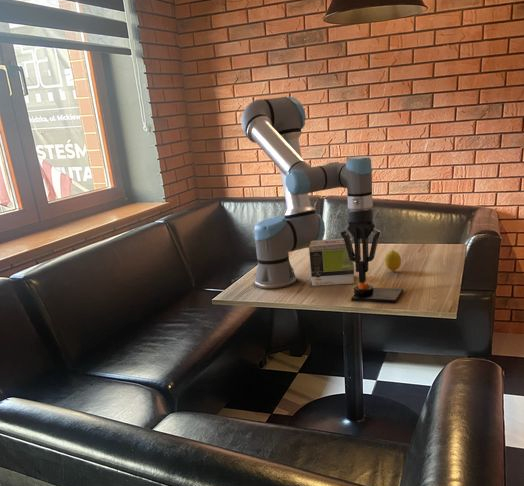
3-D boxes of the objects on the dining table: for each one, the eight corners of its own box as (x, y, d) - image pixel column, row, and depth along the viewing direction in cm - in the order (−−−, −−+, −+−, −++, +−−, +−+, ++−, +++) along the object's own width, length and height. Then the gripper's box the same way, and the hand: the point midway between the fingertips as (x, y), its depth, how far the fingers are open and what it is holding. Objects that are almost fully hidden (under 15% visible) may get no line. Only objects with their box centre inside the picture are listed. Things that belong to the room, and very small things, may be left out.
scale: (349, 301, 172) (349, 292, 171) (359, 290, 181) (359, 281, 180) (395, 303, 165) (395, 294, 164) (402, 292, 175) (402, 283, 174)
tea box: (354, 276, 197) (352, 236, 192) (354, 284, 187) (352, 243, 182) (313, 278, 200) (310, 239, 194) (311, 286, 190) (308, 245, 185)
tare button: (357, 289, 174) (357, 284, 173) (360, 286, 176) (359, 281, 176) (366, 290, 172) (366, 284, 172) (369, 287, 175) (369, 281, 174)
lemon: (401, 273, 194) (401, 251, 191) (385, 274, 195) (385, 252, 192) (400, 269, 199) (400, 248, 196) (385, 269, 200) (385, 249, 197)
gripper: (336, 211, 165) (339, 284, 173) (378, 211, 159) (379, 286, 168) (343, 206, 171) (346, 277, 180) (384, 206, 165) (385, 278, 174)
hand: (362, 281), depth 174 cm, fingers closed
